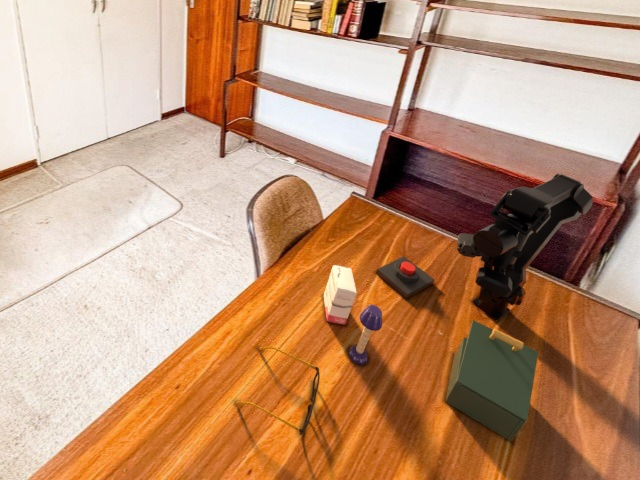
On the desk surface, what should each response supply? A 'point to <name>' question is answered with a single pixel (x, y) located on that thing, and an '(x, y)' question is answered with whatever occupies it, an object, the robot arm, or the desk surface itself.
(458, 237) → the robot arm
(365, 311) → the toy lamp
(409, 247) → the desk surface
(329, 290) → the ink box
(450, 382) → the chest
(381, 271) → the button base
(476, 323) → the chest lid
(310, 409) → the eyeglasses
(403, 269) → the button
